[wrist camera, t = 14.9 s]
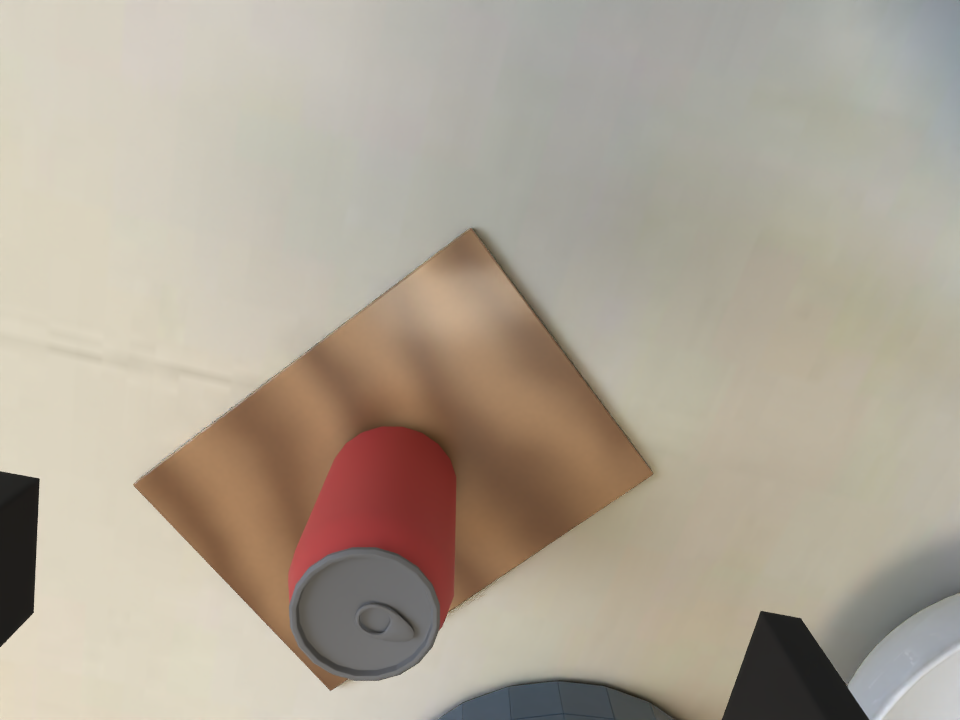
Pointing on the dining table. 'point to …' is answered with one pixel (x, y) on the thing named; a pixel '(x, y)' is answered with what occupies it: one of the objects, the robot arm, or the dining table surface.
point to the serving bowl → (914, 668)
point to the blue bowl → (556, 704)
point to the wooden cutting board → (414, 405)
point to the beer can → (376, 557)
